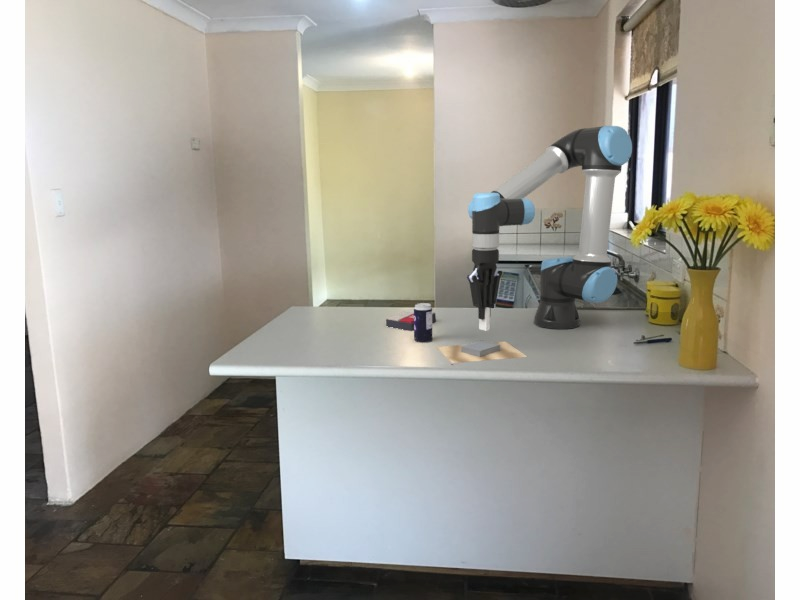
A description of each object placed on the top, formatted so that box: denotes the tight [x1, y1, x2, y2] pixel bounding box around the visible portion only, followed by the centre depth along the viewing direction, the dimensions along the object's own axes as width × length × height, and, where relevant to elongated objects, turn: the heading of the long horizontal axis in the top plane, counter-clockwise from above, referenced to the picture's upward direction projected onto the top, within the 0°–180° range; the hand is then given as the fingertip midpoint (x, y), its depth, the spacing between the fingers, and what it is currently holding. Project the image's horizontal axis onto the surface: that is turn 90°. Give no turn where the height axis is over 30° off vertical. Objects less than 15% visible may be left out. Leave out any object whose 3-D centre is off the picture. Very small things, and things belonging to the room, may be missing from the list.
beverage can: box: [413, 302, 433, 344], centre depth 182 cm, size 6×6×12 cm
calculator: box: [385, 308, 437, 332], centre depth 205 cm, size 11×4×15 cm
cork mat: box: [436, 341, 528, 366], centre depth 170 cm, size 22×16×1 cm
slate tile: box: [461, 339, 500, 357], centre depth 170 cm, size 2×7×9 cm
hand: (484, 329), depth 170 cm, fingers closed
